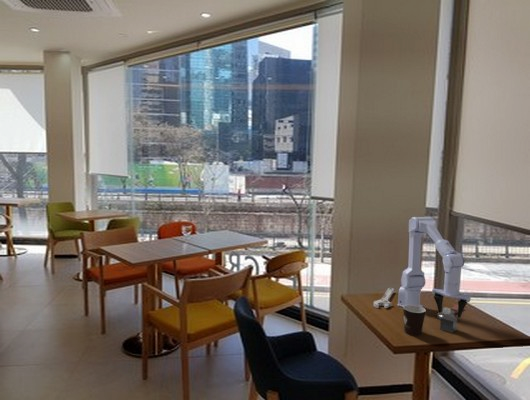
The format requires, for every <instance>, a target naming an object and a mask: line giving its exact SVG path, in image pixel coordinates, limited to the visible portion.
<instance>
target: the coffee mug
mask: <svg viewBox="0 0 530 400" xmlns="http://www.w3.org/2000/svg"><path fill="white" fill-rule="evenodd" d="M402 309H403V326H404V328H403V329H404V333H405V334H407V335H409V336H412V337H413V336H414V337H418V336H421V335H422V332H423V328H424V322H425V316H426V312H427V310H426V308H424V307H420V306H416V305H405V306H403V307H402Z"/></svg>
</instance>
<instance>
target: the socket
mask: <svg viewBox="0 0 530 400" xmlns="http://www.w3.org/2000/svg"><path fill="white" fill-rule="evenodd" d="M458 319H459V318H458V317H456V316H455V317H452V316H448V315H444V316H443V317H442V318H441V320H440V325H439V330H440V331H443V332H447V333H450V334H454V333H455V332H456V331H457V329H458V328H457V327H458Z"/></svg>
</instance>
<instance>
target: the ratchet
mask: <svg viewBox="0 0 530 400" xmlns="http://www.w3.org/2000/svg"><path fill="white" fill-rule="evenodd" d="M456 314H458V303H457V304H454V306H452V307H446V306H444V307H442V312H441V313H439V312H438V313H437V317H436V318H437V319H438V320H440V321H441V318H442V317H443V316H444V315H448V316H452V317H455V318H456Z"/></svg>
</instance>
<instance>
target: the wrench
mask: <svg viewBox="0 0 530 400" xmlns="http://www.w3.org/2000/svg"><path fill="white" fill-rule="evenodd" d="M394 289H395V288H393V287H388V288H387V289H386V291H385V293H384V294H383V296H382V297H381V298H380V299H378V300H374V301H373V304H372V305H373V307H374V308H376V309H379V308H380V307H384V308H385V309H388V308H389V307H393V303H392V302H390V299H391V297H392V296H393V293H395V292H394V291H395V290H394Z"/></svg>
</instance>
